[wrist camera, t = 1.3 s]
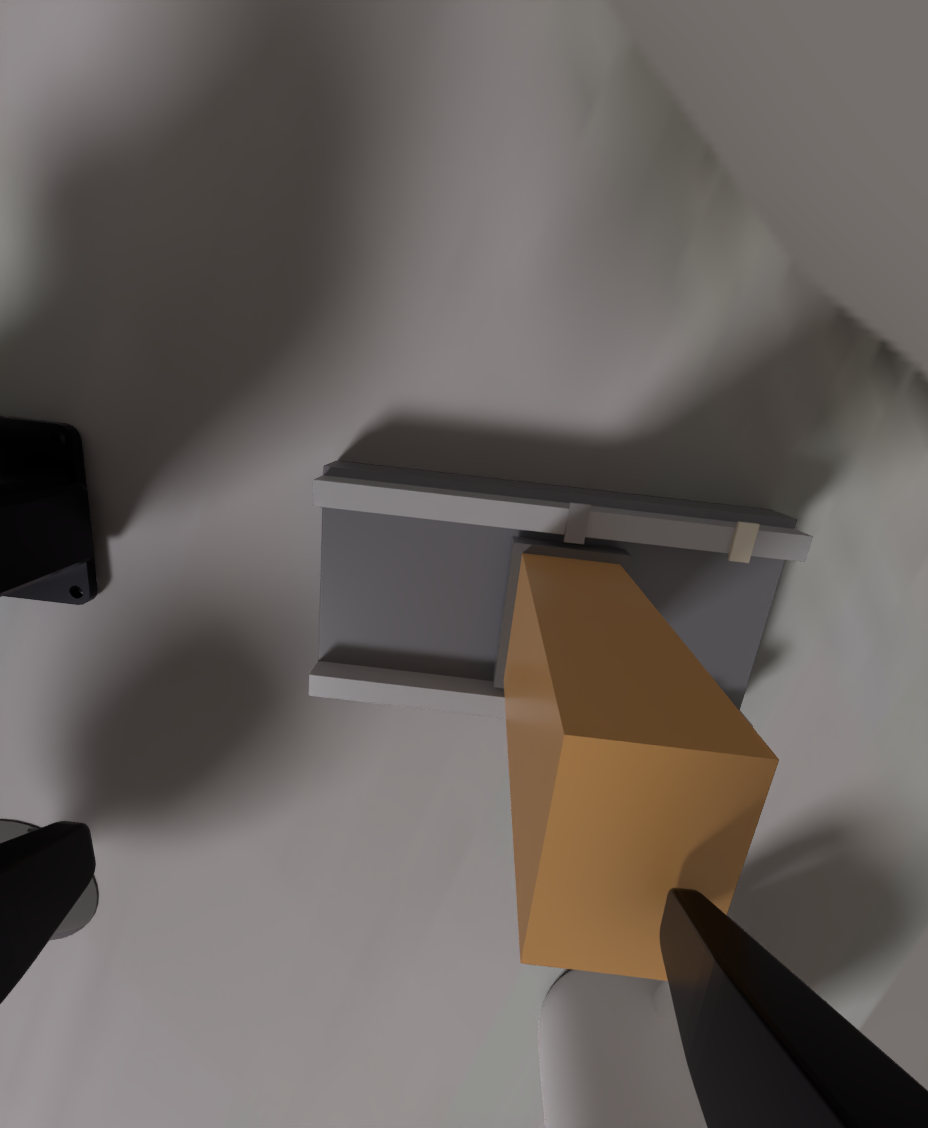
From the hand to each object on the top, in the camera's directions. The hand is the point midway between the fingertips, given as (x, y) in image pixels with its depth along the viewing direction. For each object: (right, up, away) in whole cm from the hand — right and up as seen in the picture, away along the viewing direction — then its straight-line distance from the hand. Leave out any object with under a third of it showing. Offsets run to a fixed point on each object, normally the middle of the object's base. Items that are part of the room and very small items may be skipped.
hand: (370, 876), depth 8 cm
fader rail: (+4, +4, +11) cm, 12 cm away
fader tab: (+4, +3, +9) cm, 11 cm away
